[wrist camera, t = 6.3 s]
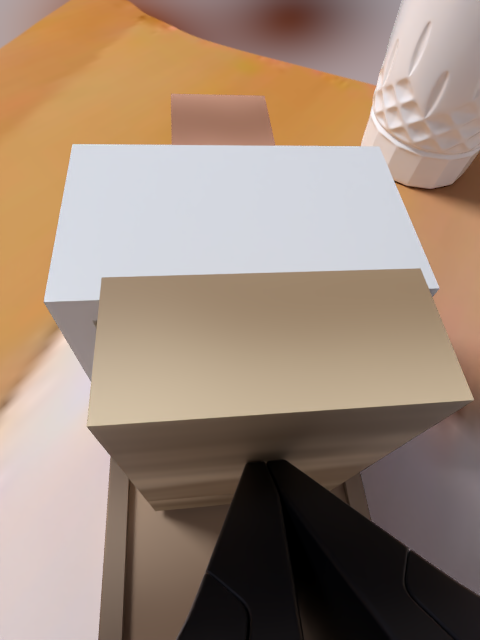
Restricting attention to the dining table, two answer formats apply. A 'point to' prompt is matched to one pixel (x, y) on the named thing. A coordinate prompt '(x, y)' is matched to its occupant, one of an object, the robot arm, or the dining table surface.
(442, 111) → the white cup
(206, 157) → the tunnel
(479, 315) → the dining table surface
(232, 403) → the wood grain block
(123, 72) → the dining table surface
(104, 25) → the dining table surface
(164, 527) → the track
